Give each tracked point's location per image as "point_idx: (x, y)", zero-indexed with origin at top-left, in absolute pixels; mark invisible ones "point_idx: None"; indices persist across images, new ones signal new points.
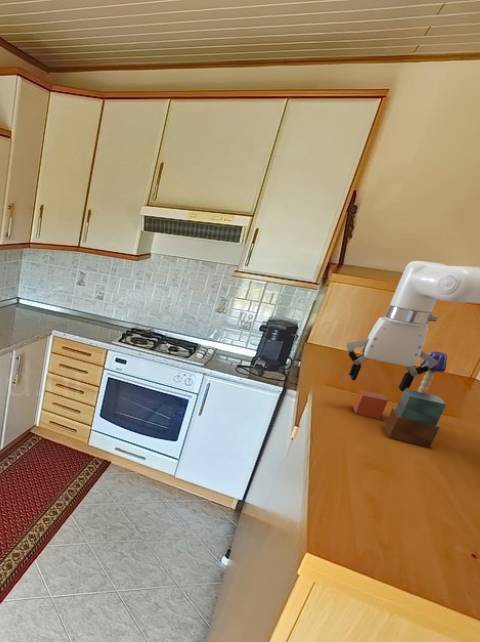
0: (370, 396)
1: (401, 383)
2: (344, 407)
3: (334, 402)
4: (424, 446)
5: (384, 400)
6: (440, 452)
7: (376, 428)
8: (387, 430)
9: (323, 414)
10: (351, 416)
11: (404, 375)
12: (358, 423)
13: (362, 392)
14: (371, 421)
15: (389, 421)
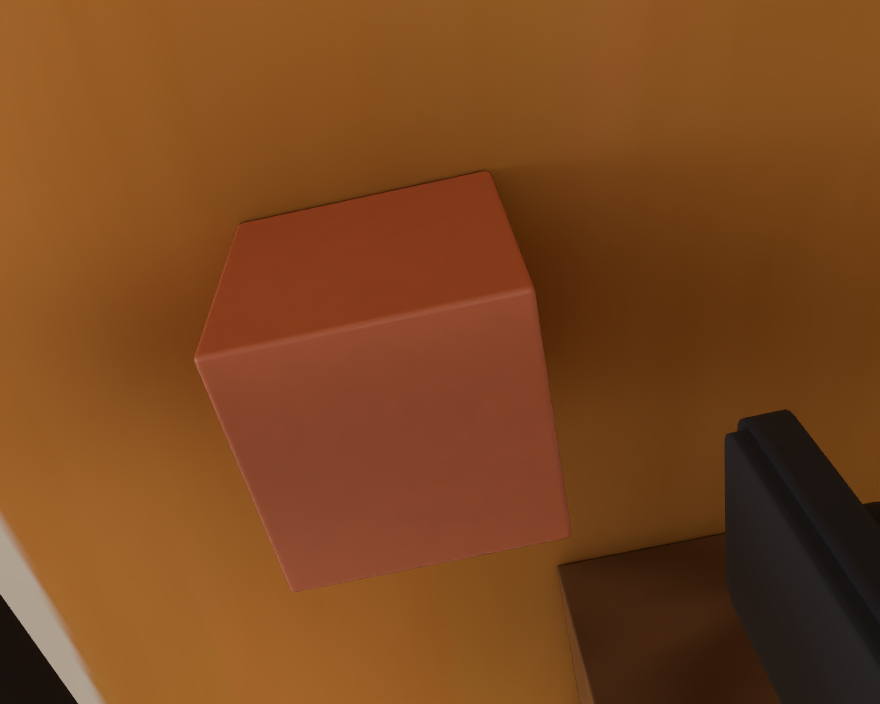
0: (375, 570)
1: (771, 562)
2: (171, 309)
3: (22, 216)
4: None
5: (532, 540)
6: None
7: (506, 627)
8: (575, 671)
9: (135, 682)
10: None
11: (867, 688)
12: (383, 640)
13: (258, 486)
14: None
15: (584, 692)
